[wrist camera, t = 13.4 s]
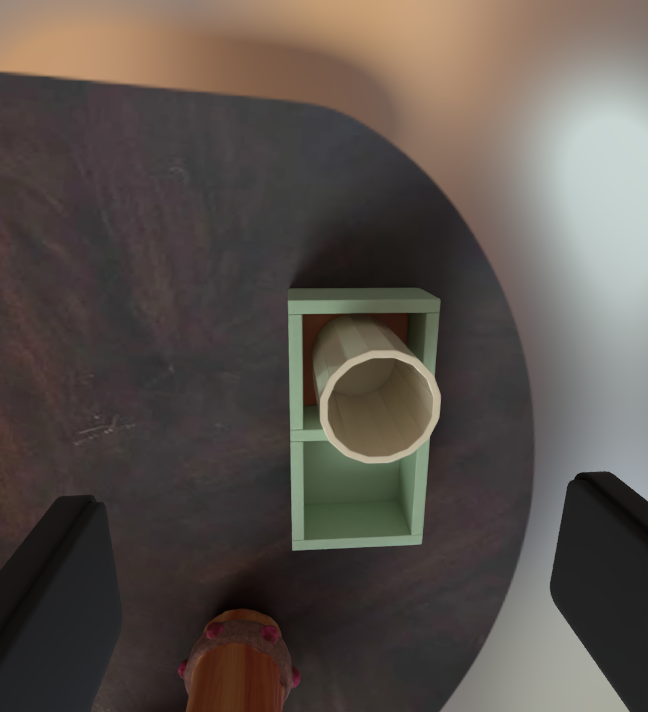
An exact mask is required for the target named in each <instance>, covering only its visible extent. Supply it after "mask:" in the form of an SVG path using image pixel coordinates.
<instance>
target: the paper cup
mask: <svg viewBox="0 0 648 712" xmlns="http://www.w3.org/2000/svg"><path fill="white" fill-rule="evenodd" d="M311 370H312V376H313V382H314V388H315V394H316V400H317V406H318V412H319V418H320V423H321V425H322V427H323V429H324V432H325V434H326V436H327V438H328V440H329V442H330V443H331V444H332V445H334V446H335V447H336V448H337V449H338V450H339V451H340V452H341V453H343V454H344V455H345V456H347V457H350V458H353V459H356V460H358V461H361V462H364V463H389V462H393V461H395V460H398V459H400V458H403V457H405V456H408V455H410V454H411V453H413V452H414V451H415V450H417V449H418V448H419V447H420V446H421V445H422V444H423V443H424V442H425V441H427V440H428V438H429V437H430V435H431V433H432V431H433V430H434V428H435V426H436V424H437V422H438V420H439V416H440V404H441V394H440V391H439V388H438V385H437V383H436V380H435V377H434V375H433V373H432V372H431V371H430V370H429V369H428V368H427V367H426V366H425V365H424V364H423V363H422V362H421V361H420V360H419V358H418V357H417V356H416V355H415V354H414V353H413V352H412V351H411V350H410V349H409V348H408V347H407V346H406V345H405V344H404V342H403V341H402V340H401V339H400V338H399V337H398V336H397V335H396V334H395V333H394V332H393V331H392V330H391V329H390V328H389V327H388V326H387V325H386V324H385V323H384V322H383V321H381V320H380V319H378V318H376V317H374V316H371V315H368V314H363V313H350V314H346V315H342V316H339V317H337V318H335V319H333V320H332V321H330V322H329V323H327V324H326V325H325V326H324V327H323V328H322V329H321V330H320V332H319V333H318V335H317V336H316V338H315V340H314V343H313V346H312V350H311Z"/></svg>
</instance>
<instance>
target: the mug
mask: <svg viewBox="0 0 648 712" xmlns="http://www.w3.org/2000/svg"><path fill="white" fill-rule="evenodd" d="M178 672H179V676H180V677H181V678H182V679H184V682H185V687H186V691H187V693H188V696H189V699H188V704H187V708H186V712H282V706H283V705H284V703H285V701H286V699H287V697H288V694H289V692H290V690H291V689H292V688H294V687H296V686H297V685H298V684H299V682H300V680H301V674H300V672H299V671H298V670H297V669H296V667H295V666H293V665H292V662H291V656H290V653H289V651H288V649H287V646H286V644H285V642H284V641H283V639H282V635H281V631H280V628H279V626H278V624H277V623H276V622H275V621H274V620H273V619H272V618H271V617H269V616H267V615H265V614H262V613H260V612H257V611H254V610H249V609H235V610H229V611H225V612H224V613H223V614H221V615H219V616H217V617H215V618H214V619H212V620H211V621H210V622H209V623H208V624H207V625H206V627H205V628H204V631H203V634H202V635H201V636H200V637H199V639H198V640H197V641H196V643H195V644H194V646H193V648H192V651H191V654H190V656H189V658H188V659H187V660H184V661H183V662H182V663H181V665H180V667H179V669H178Z"/></svg>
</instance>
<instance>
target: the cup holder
mask: <svg viewBox="0 0 648 712" xmlns="http://www.w3.org/2000/svg"><path fill="white" fill-rule="evenodd" d="M440 301H441V300H440V299H439V298H437V297H435V296H433V295H432V294H430V293H428V292H426V291H424V290H422V289H420V288H292V289H288V330H289V389H290V448H291V507H292V550H293V551H294V550H315V549H335V548H356V547H376V546H397V545H418V544H422V536H423V535H422V534H423V523H424V510H425V497H426V484H427V471H428V458H429V445H430V437H429V438H428V440H427V441H425V442H424V443H423V444H422V445H421V446H420V447H419V448H418V449H417V450H415V451H414V452H413V453H411V454H410V455H408V456H405V457H403V458H400V459H398V460H395V461H393V462H389V463H364V462H361V461H358V460H356V459H353V458H350V457H347V456H345V455H344V454H343V453H341V452H340V451H339V450H338V449H337V448H336V447H335V446H334V445H332V444H331V443H330V442H329V440H328V438H327V436H326V434H325V432H324V429H323V427H322V425H321V423H320V418H319V412H318V406H317V400H316V394H315V388H314V382H313V376H312V370H311V350H312V346H313V343H314V340H315V338H316V336H317V335H318V333H319V332H320V330H321V329H322V328H323V327H324V326H325V325H326V324H327V323H329V322H330V321H332V320H333V319H335V318H337V317H339V316H342V315H346V314H350V313H363V314H368V315H371V316H374V317H376V318H378V319H380V320H381V321H383V322H384V323H385V324H386V325H387V326H388V327H389V328H390V329H391V330H392V331H393V332H394V333H395V334H396V335H397V336H398V337H399V338H400V339H401V340H402V341H403V342H404V344H405V345H406V346H407V347H408V348H409V349H410V350H411V351H412V352H413V353H414V354H415V355H416V356H417V357H418V358H419V360H420V361H421V362H422V363H423V364H424V365H425V366H426V367H427V368H428V369H429V370H430V371H431V372H432V373H433V375H434V377H435V365H436V351H437V338H438V325H439V312H440Z"/></svg>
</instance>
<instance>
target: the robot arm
mask: <svg viewBox="0 0 648 712" xmlns="http://www.w3.org/2000/svg"><path fill="white" fill-rule="evenodd" d="M550 592H551V595H552V599H553V601H554V603H555V605H556V606H557V608H558V609H559V611H560V612H561V614H562V615H563V616H564V618H565V619H566V621H567V622H568V624H569V625H570V626H571V628H572V629H573V631H574V632H575V634H576V635H577V636H578V638H579V639H580V641H581V642H582V644H583V645H584V647H585V648H586V649H587V651H588V652H589V654H590V655H591V657H592V658H593V659H594V661H595V662H596V664H597V665H598V667H599V668H600V669H601V671H602V672H603V674H604V675H605V677H606V678H607V680H608V681H609V682H610V684H611V685H612V687H613V688H614V690H615V691H616V692H617V694H618V695H619V697H620V698H621V700H622V701H623V702H624V704H625V705H626V707H627V708H628V710H629V711H630V712H648V501H647V500H645V499H644V498H643V497H641V496H640V495H639V494H638V493H636V492H635V491H634V490H633V489H631V488H630V487H629V486H627V485H626V484H625V483H624V482H622V481H621V480H620V479H619V478H617V477H616V476H615V475H614V474H612V473H610V472H605V471H604V472H582V473H579V474H577V475H576V477H575V479H574V480H572V481H570V482H569V484H568V486H567V491H566V498H565V503H564V509H563V514H562V520H561V525H560V531H559V536H558V542H557V548H556V553H555V560H554V564H553V571H552V576H551V581H550ZM121 626H122V608H121V601H120V595H119V589H118V582H117V576H116V569H115V563H114V557H113V550H112V544H111V537H110V531H109V525H108V518H107V512H106V507H105V505H104V503H102V502H96V499H95V497H94V496H92V495H78V496H61V497H59V498H58V499H56V500H55V502H54V503H53V504H52V506H51V507H50V508H49V509H48V511H47V512H46V513H45V514H44V516H43V517H42V518H41V520H40V521H39V522H38V523H37V525H36V526H35V527H34V528H33V530H32V531H31V532H30V534H29V535H28V536H27V537H26V539H25V540H24V541H23V542H22V544H21V545H20V546H19V547H18V549H17V550H16V551H15V553H14V554H13V555H12V556H11V558H10V559H9V560H8V561H7V563H6V564H5V565H4V567H3V568H2V569H1V570H0V712H90V710H91V707H92V705H93V702H94V700H95V697H96V694H97V692H98V689H99V687H100V684H101V681H102V679H103V676H104V674H105V671H106V668H107V666H108V663H109V661H110V658H111V655H112V653H113V650H114V648H115V645H116V642H117V640H118V637H119V634H120V631H121Z"/></svg>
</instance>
